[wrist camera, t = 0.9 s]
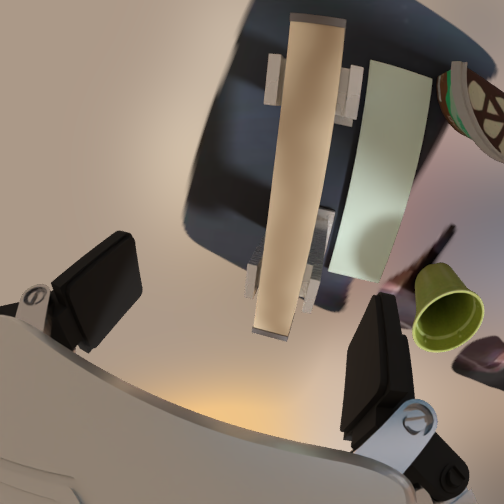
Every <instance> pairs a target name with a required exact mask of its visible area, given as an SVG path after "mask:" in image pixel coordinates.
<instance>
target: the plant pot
mask: <svg viewBox="0 0 504 504" xmlns="http://www.w3.org/2000/svg"><path fill="white" fill-rule="evenodd" d="M415 296H416V317H415V320H414V323H413V326H412V336H413V340H414V342H415V343H416V345H417V346H418V347H419V348H421V349H423V350H425V351H428V352H445V351H449V350H452V349H455V348H457V347H459V346H461V345H462V344H464V343H465V342H467V341H468V340H469V339H470V338H471V337H472V336H473V335H474V334H475V333H476V331H477V330H478V328H479V327H480V325H481V323H482V320H483V317H484V305H483V302H482V300H481V298H480V297H479V296H478V295H477V294H476V293H475V292H473V291H471V290H469V289H468V288H467V287H466V286H465V285H464V283H463V282H462V281H461V280H460V278H459V277H458V276H457V275H456V273H455V272H454V271H453V270H452V268H451V267H450V266H449V265H447V264H445V263H436V264H430V265H428V266H426V267H425V268H423V269H422V270H421V271H420V273H419V274H418V276H417V278H416V281H415Z"/></svg>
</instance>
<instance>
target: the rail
mask: <svg viewBox="0 0 504 504" xmlns="http://www.w3.org/2000/svg"><path fill="white" fill-rule="evenodd" d="M289 21H290V31H289V41H288V51H287V60H286V69H285V78H284V87H283V96H282V105H281V114H280V122H279V131H278V140H277V148H276V156H275V165H274V173H273V181H272V189H271V197H270V205H269V213H268V221H267V229H266V236H265V244H264V252H263V259H262V267H261V274H260V282H259V289H258V297H257V304H256V312H255V319H254V325H253V328H252V332H253V333H257V334H260V335H264V336H268V337H271V338H275V339H279V340H283V341H287V340H288V336H289V333H290V329H291V325H292V321H293V318H294V314H295V313H294V312H295V308H296V305H297V301H298V297H299V293H300V289H301V285H302V281H303V276H304V272H305V268H306V264H307V260H308V255H309V251H310V246H311V242H312V237H313V233H314V228H315V223H316V219H317V214H318V209H319V204H320V199H321V194H322V189H323V183H324V178H325V172H326V167H327V161H328V155H329V150H330V144H331V137H332V131H333V125H334V118H335V111H336V104H337V97H338V89H339V81H340V73H341V65H342V55H343V46H344V40H345V32H346V19H340V18H334V17H327V16H320V15H311V14H301V13H290V20H289Z"/></svg>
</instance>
